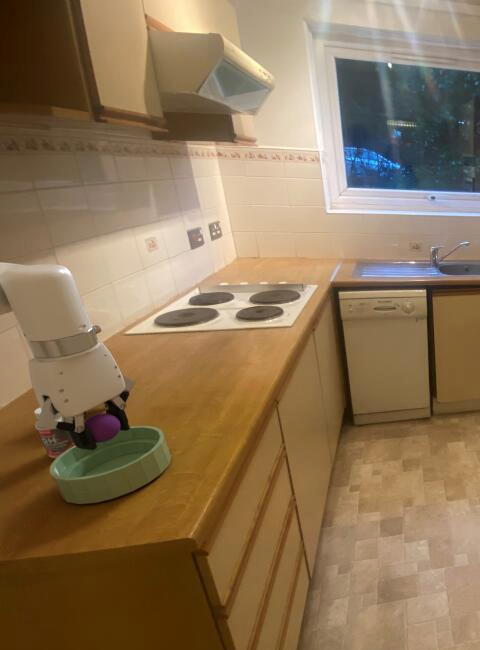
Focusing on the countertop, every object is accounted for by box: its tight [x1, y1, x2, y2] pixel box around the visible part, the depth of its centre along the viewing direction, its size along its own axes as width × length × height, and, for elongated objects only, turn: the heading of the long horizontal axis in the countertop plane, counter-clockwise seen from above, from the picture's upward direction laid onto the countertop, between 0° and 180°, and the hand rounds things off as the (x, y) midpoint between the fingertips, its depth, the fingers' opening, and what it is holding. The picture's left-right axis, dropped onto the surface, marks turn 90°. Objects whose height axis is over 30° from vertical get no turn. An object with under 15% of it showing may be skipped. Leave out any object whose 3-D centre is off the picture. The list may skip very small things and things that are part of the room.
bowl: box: [49, 425, 173, 505], centre depth 78 cm, size 15×15×6 cm
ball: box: [84, 412, 121, 443], centre depth 75 cm, size 5×5×5 cm
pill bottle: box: [33, 407, 75, 459], centre depth 83 cm, size 5×5×10 cm
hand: (105, 437), depth 76 cm, fingers closed on ball, 4 cm apart
